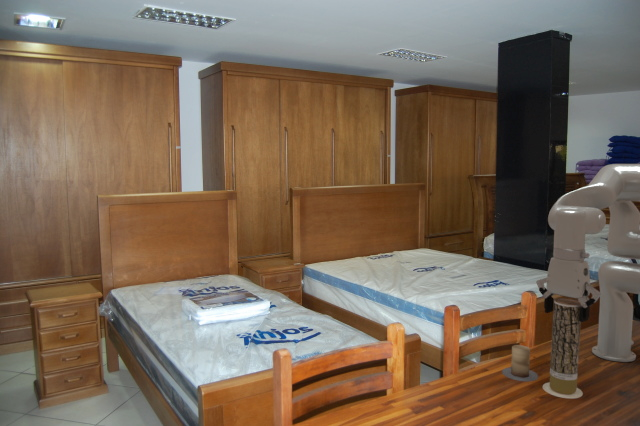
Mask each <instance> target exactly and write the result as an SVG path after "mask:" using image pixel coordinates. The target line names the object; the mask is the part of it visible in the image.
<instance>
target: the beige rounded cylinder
mask: <svg viewBox="0 0 640 426" xmlns="http://www.w3.org/2000/svg"><path fill="white" fill-rule="evenodd" d="M530 359H531V348H530V347H529V346H527V345H526V346H525V345H521V344H514V345H512V346H511V363H510V364H511V366H510V367H511V374H512V375H514V376H516V377H521V378H526V377H529V370H530V361H531V360H530Z"/></svg>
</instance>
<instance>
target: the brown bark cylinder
mask: <svg viewBox="0 0 640 426" xmlns="http://www.w3.org/2000/svg"><path fill="white" fill-rule="evenodd" d="M580 307H582V305H581V303H580V302H579V300H578V299H574V298H566V297H565V298H561V297H559V298H554V304H553V311H552V312H553V315H552V329H551V330H552V331H551V333H552V334H551V346H550V347H551V349H550V369H549V382H550V387H551V389H553V390H554V391H556V392H559V393H563V394H572V393H575V392H576V389H577V388H578V373H579V372H578V371H579V359H580V358H579V357H580V337H581V324H582V322H580V321H579V317H580Z"/></svg>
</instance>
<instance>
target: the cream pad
mask: <svg viewBox="0 0 640 426" xmlns="http://www.w3.org/2000/svg"><path fill="white" fill-rule="evenodd" d="M542 389H543V390H544V391H545V392H546V393H548V394H549V395H552V396H554V397H556V398H557V397H558V398H562V399H568V400H569V399H571V400H572V399H579V398H581V397H582V396H583V394H584V393H583V391H582V389H580V388H579V387H577V389H576V392H575V393H572V394H563V393H559V392H556V391H554V390H553V389H551V387H550V381H549V382H545V383H544V384H543V385H542Z"/></svg>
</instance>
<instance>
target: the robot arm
mask: <svg viewBox="0 0 640 426" xmlns="http://www.w3.org/2000/svg"><path fill="white" fill-rule="evenodd" d="M634 202H640V163H612V164H607V165H604V166H603V167H602V168H601V169H599V171H598V172H597V173H596V175H595V176H594V177H593V178H592V180H591V181H590V182H589V183H588V184H587V185H585V186H582V187H580V188H578V189H575V190H573V191H570V192H567V193H565V194H563V195H562V196H560V197H559V198H558V199H557V201H556V202H554V204H553V205H552V207H551V209H550V210H549V212H548V213H549V214H548V217H547V222H548V225H549V227H550V228H551V229H552V230H553V233H554V234H553V254H552V255H553V257H551V258H550V262H549V265H548V269H547V276H546V277H544V278H541V279H538V280H537V281H536V284H537V288H538V291H539V292H540V294H541V295H542V298H543V300H544V305H543V307H544V313H545V314H548V313H552V312H553V310H554V300H555V298H554V297H553V296H554V295H557V296H560V297H561V296H562V297H565V298H569V299H573V300H577V301H579V302H580V303H581V305H582V307H580V317H579V321H580V322H581V323H584V322H586V321H588V320H589V319H590V311H591V310H590V308H591V307H592V306H593V305H594V304H595V303H597V302H598V300H599V311H598V312H599V313H598V330H597V331H598V333H597V345H595V346H593V347H592V348H591V352H592V354H593V355H594V356H596V357H598V358H601V359H603V360H606V361H611V362H616V363H629V362H630V363H631V362H634V361H635V360H636V359H637V355H636V353H635V352H633V351H632V350H631V349H632V346H633V345H634V344H635V343H634V340H632V336H633V334H632V332H633V318H634V317H633V316H634V304H633V301H632V299H631V298H630V296H629V295H628V293H630V294H635V295H640V263H633V262H626V261H619V260H608V261H604V262H603V263H601V264H600V266H599V267H598V272H597V277H598V283H599V290H598V289H596V288H595V287H593V286H592V285H591V276H590V275H591V274H590V267H589V263H588V260H586V259H589V258H590V253H589V252H586V249H585V248H586V235H591V236H593V235H597V234H599V233H600V232H602V231H603V230H604V229H605V226H606V224H607V218H606V214H605V212H604V211H603V210H604V209H607V208H608V209H609V214H610V217H609V225H608V234H607V241H606V242H607V243H606V247H607V249H606V250H607V252H608V254H609V255H611V256H613V257H617V258H622V259H623V258H624V259H632V260H638V261H639V260H640V210H639V208H637V206H636V205H635V203H634ZM545 284H546V286H545ZM590 294H591V298H589V296H590Z"/></svg>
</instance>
